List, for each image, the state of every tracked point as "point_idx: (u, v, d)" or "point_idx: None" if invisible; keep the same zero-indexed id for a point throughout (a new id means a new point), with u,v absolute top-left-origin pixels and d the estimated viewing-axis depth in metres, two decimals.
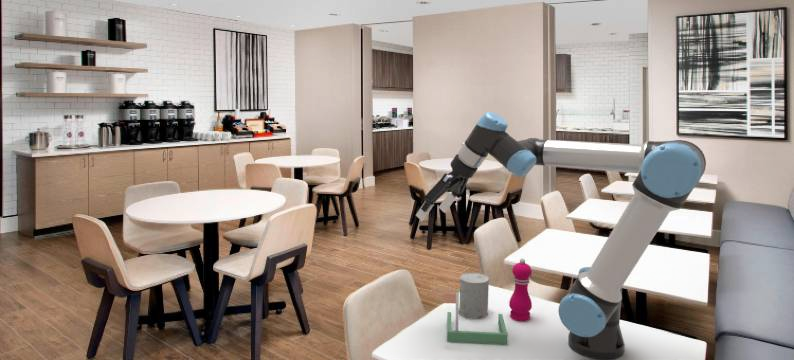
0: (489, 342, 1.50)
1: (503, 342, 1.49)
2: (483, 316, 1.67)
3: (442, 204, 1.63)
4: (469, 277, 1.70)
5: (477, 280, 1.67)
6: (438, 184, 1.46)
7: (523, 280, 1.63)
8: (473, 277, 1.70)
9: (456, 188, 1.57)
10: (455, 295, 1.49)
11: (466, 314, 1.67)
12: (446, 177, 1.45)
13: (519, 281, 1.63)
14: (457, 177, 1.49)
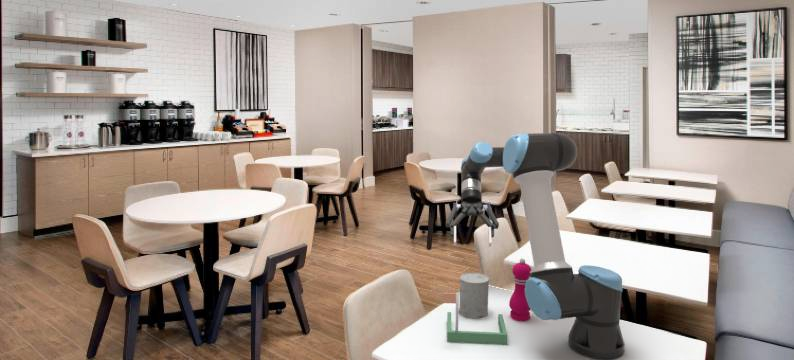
0: (489, 342, 1.50)
1: (503, 342, 1.49)
2: (483, 316, 1.67)
3: None
4: (469, 277, 1.70)
5: (477, 280, 1.67)
6: None
7: (523, 280, 1.63)
8: (473, 277, 1.70)
9: (483, 218, 1.87)
10: (455, 295, 1.49)
11: (466, 314, 1.67)
12: (453, 205, 1.91)
13: (519, 281, 1.63)
14: (465, 203, 1.90)
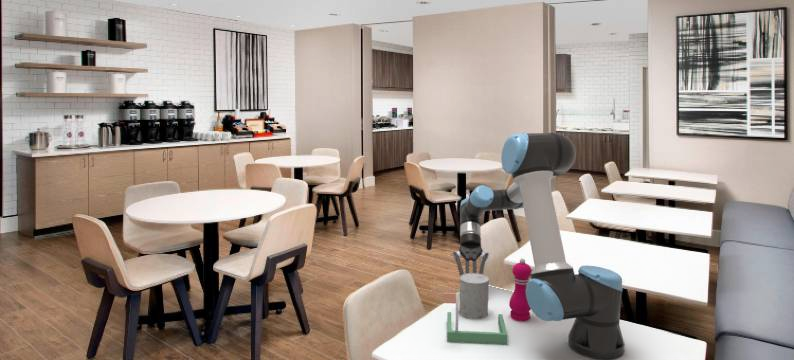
0: (489, 342, 1.50)
1: (503, 342, 1.49)
2: (483, 316, 1.67)
3: None
4: (469, 277, 1.69)
5: (477, 280, 1.67)
6: (457, 263, 1.84)
7: (523, 280, 1.63)
8: (473, 277, 1.69)
9: None
10: (455, 295, 1.49)
11: (466, 314, 1.67)
12: (453, 255, 1.86)
13: (519, 281, 1.63)
14: (462, 246, 1.86)
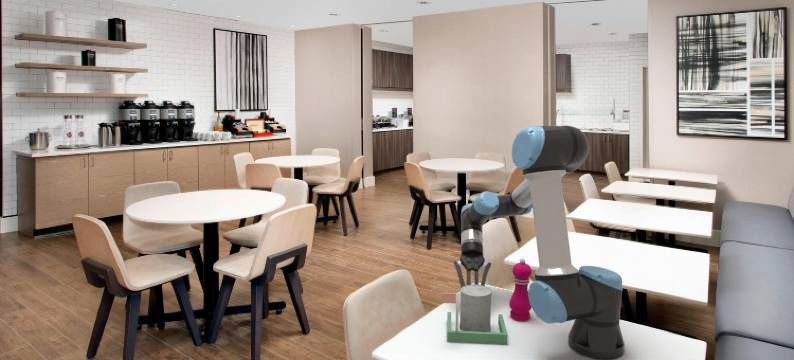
0: (489, 342, 1.50)
1: (503, 342, 1.49)
2: (485, 331, 1.56)
3: None
4: (470, 289, 1.59)
5: (479, 293, 1.56)
6: (457, 273, 1.74)
7: (523, 280, 1.63)
8: (475, 289, 1.59)
9: (474, 276, 1.71)
10: (455, 295, 1.49)
11: (467, 329, 1.56)
12: (454, 265, 1.75)
13: (519, 281, 1.63)
14: (464, 255, 1.76)
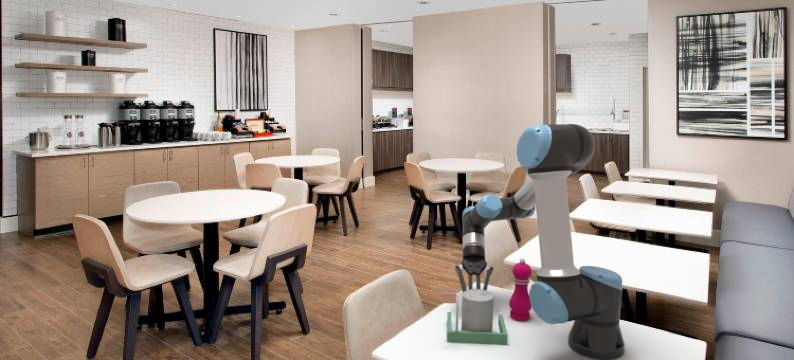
0: (489, 342, 1.50)
1: (503, 342, 1.49)
2: None
3: None
4: (472, 294, 1.55)
5: (481, 298, 1.52)
6: (459, 277, 1.70)
7: (523, 280, 1.63)
8: (476, 294, 1.55)
9: (476, 281, 1.68)
10: (455, 295, 1.49)
11: None
12: (455, 269, 1.71)
13: (519, 281, 1.63)
14: (465, 259, 1.72)
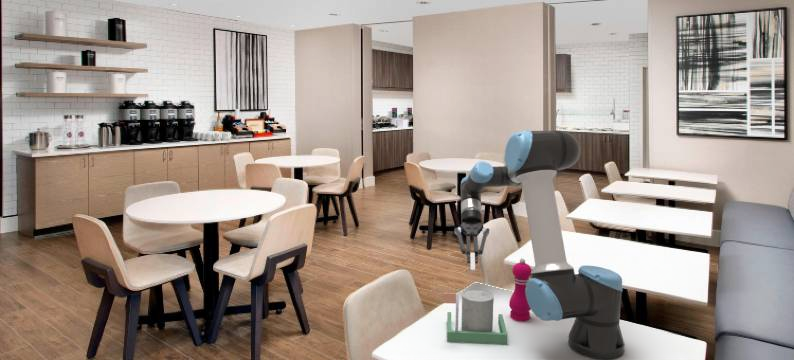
0: (489, 342, 1.50)
1: (503, 342, 1.49)
2: None
3: None
4: (472, 294, 1.55)
5: (481, 298, 1.52)
6: (458, 239, 1.85)
7: (523, 280, 1.63)
8: (476, 294, 1.55)
9: (474, 241, 1.82)
10: (455, 295, 1.49)
11: None
12: (454, 231, 1.86)
13: (519, 281, 1.63)
14: (463, 222, 1.87)
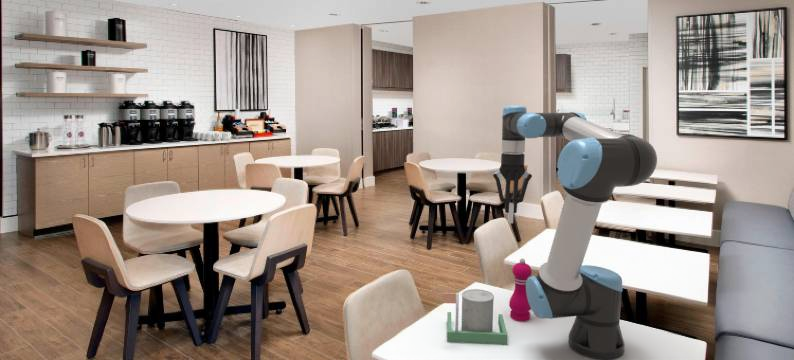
0: (489, 342, 1.50)
1: (503, 342, 1.49)
2: None
3: None
4: (472, 294, 1.55)
5: (481, 298, 1.52)
6: None
7: (523, 280, 1.63)
8: (476, 294, 1.55)
9: (513, 189, 1.70)
10: (455, 295, 1.49)
11: None
12: None
13: (519, 281, 1.63)
14: (504, 167, 1.69)
